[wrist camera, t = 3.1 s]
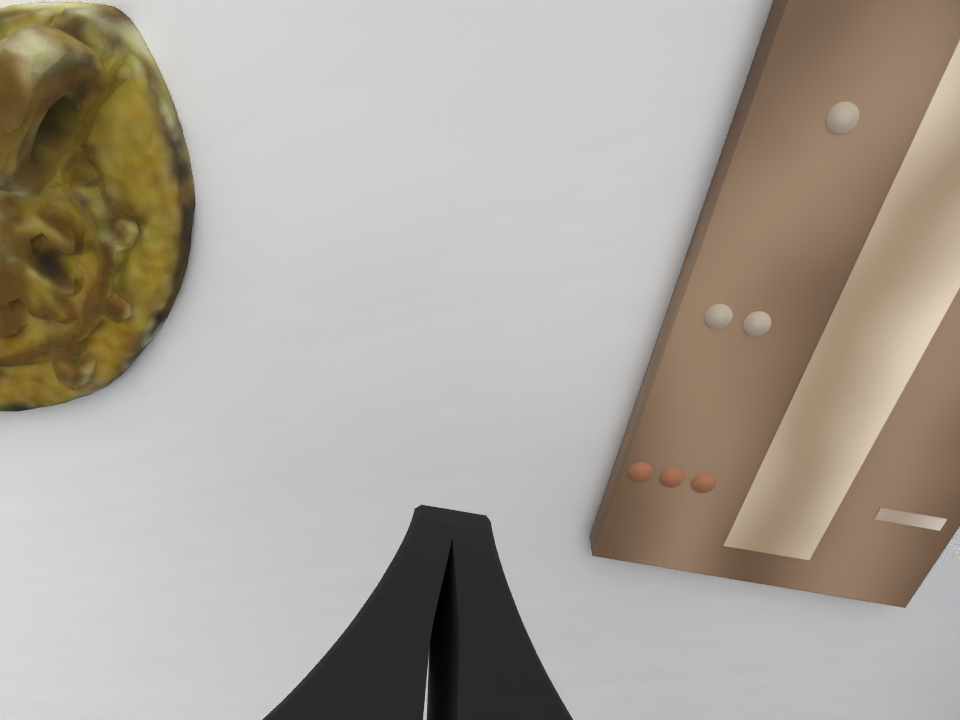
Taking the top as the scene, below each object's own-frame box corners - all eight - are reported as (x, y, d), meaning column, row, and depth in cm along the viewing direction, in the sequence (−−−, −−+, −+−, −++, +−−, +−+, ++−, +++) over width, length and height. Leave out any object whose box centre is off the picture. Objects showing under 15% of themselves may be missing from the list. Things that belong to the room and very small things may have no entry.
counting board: (1452, -283, 15) (1515, -301, 14) (892, 587, 27) (906, 608, 26) (917, -419, 14) (946, -447, 13) (589, 536, 27) (592, 556, 26)
